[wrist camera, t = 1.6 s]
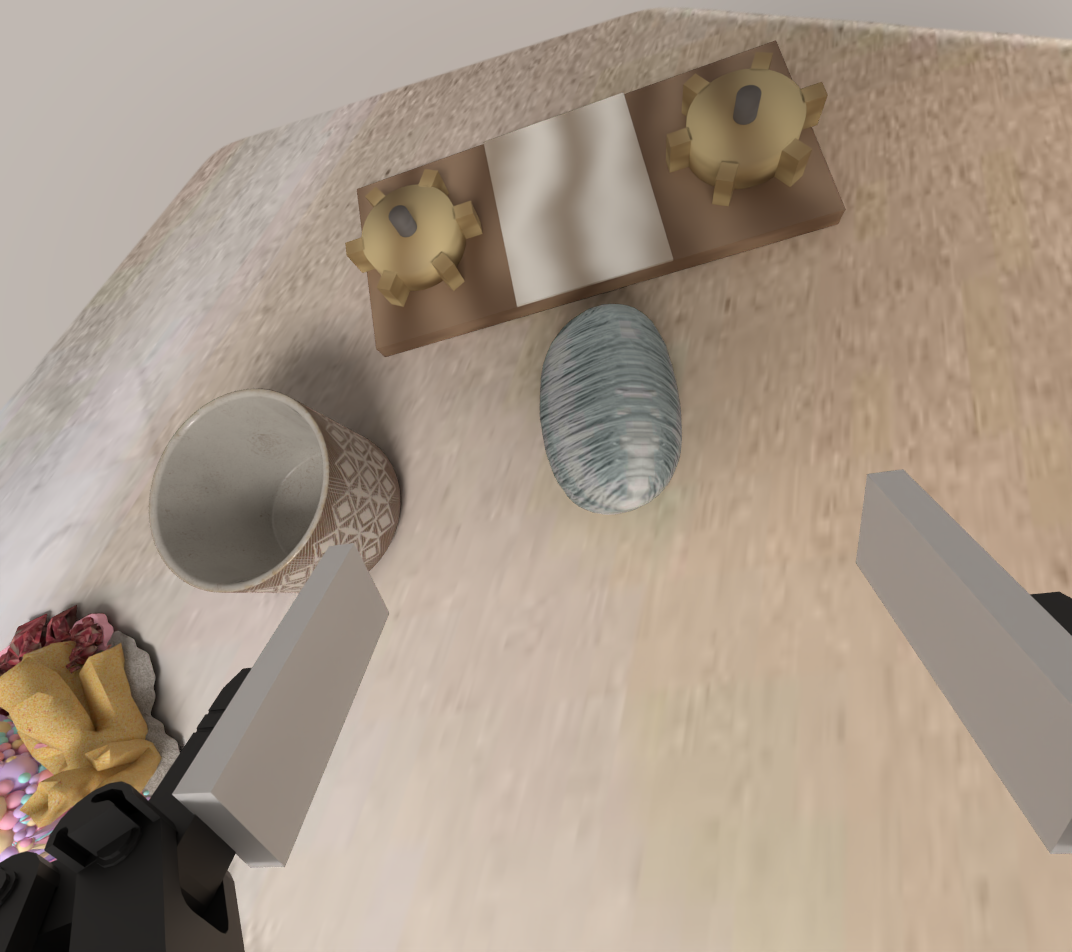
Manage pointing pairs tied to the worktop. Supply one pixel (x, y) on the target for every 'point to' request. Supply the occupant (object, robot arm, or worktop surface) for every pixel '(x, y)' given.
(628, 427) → the grey streaked egg
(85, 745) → the candy landscape model
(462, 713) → the worktop surface
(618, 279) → the gear board
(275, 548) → the planter
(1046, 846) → the robot arm
